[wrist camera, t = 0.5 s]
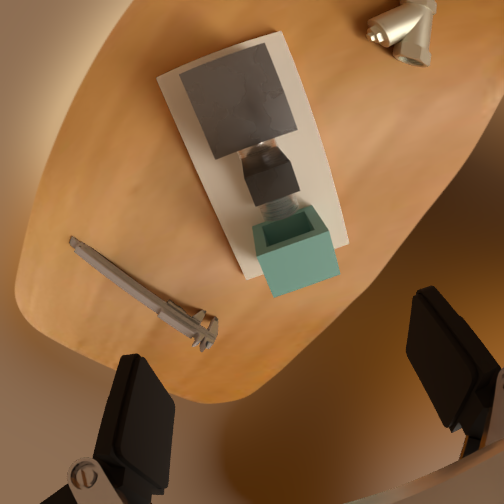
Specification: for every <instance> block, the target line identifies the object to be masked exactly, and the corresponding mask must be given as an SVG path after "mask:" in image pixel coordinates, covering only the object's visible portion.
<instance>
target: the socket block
mask: <svg viewBox="0 0 504 504" xmlns="http://www.w3.org/2000/svg"><path fill="white" fill-rule="evenodd" d="M252 230H253V237H254V244H255V250H256V257H257V259H258V262H259V264H260V266H261V269H262V271H263V273H264V276H265V278H266V280H267V283H268V285H269V288H270V290H271V292H272V295H273V297H277V296H280V295H283V294H286V293H289V292H292V291H295V290H298V289H300V288H303V287H306V286H309V285H312V284H315V283H317V282H320V281H323V280H326V279H328V278H331V277H334V276H337V275H339V274H340V270H339V266H338V263H337V259H336V255H335V251H334V247H333V243H332V240H331V236H330V232H329V230H328V228H327V227H326V225H325V224H324V222H323V221H322V219H321V218H320V216H319V215H318V213H317V212H316V210H315V209H314V207H313V206H312V205H310V206H307V207H305V208H302V209H299V210H298V211H297V212H296V213H294V214H293V215H291V216H289V217H287V218H285V219H282V220H278V221H265V222H263V223H260V224H257V225H254V226H252Z"/></svg>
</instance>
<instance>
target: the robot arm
mask: <svg viewBox="0 0 504 504" xmlns="http://www.w3.org/2000/svg"><path fill="white" fill-rule="evenodd" d="M406 353H407V357H408V359H409V360H410V362H411V364H412V366H413V368H414V370H415V371H416V373H417V375H418V377H419V379H420V381H421V382H422V384H423V386H424V388H425V390H426V392H427V394H428V396H429V398H430V400H431V402H432V403H433V405H434V407H435V409H436V411H437V413H438V415H439V417H440V419H441V421H442V423H443V425H444V426H445V427H446V428H448V427H449V429H450V431H451V433H453V432H455V431H457V430H459V429H461V428H462V429H463V431H464V433H465V435H466V436H465V440H464V443H463V447H462V450H461V453H460V457H459V460H458V461H456V462H454V463H452V464H450V465H448V466H446V467H444V468H442V469H439V470H437V471H435V472H432V473H430V474H428V475H426V476H423V477H421V478H419V479H416V480H414V481H411V482H409V483H406V484H404V485H401V486H398V487H396V488H393V489H390V490H387V491H384V492H381V493H378V494H375V495H372V496H369V497H366V498H362V499H359V500H356V501H352V502H348V503H345V504H504V368H502V369H501V367H500V366H499V365H498V363H497V362H496V361H495V359H494V358H493V356H492V355H491V354H490V353H489V351H488V350H487V348H486V347H485V346H484V344H483V343H482V342H481V340H480V339H479V338H478V337H477V335H476V334H475V333H474V331H473V330H472V329H471V328H470V326H469V325H468V324H467V323H466V321H465V320H464V319H463V318H462V317H461V316H459V315H458V314H457V313H456V311H455V310H454V309H453V308H452V307H451V305H450V304H449V303H448V302H447V301H446V299H445V298H444V297H443V296H442V295H441V294H440V292H439V291H438V290H437V289H436V288H435V287H434V286H429V287H426V288H423V289H420V290H418V291H417V292H416V295H415V296H413V300H412V308H411V317H410V324H409V332H408V338H407V345H406ZM174 415H175V404H174V401H173V400H172V398H171V397H170V395H169V394H168V392H167V391H166V389H165V388H164V386H163V385H162V383H161V382H160V380H159V379H158V377H157V376H156V374H155V373H154V371H153V370H152V368H151V367H150V365H149V364H148V362H147V360H146V359H145V358H144V357H141V356H140V355H139V354H129V355H123V356H121V358H120V361H119V365H118V368H117V371H116V374H115V378H114V381H113V384H112V388H111V391H110V395H109V397H108V400H107V403H106V407H105V411H104V414H103V418H102V422H101V426H100V429H99V433H98V437H97V442H96V445H95V450H94V454H93V458H89V457H84V458H80V459H78V460H76V461H75V462H74V463H73V464H72V465H71V466H70V468H69V470H68V473H67V481H68V484H67V485H65V486H64V487H62V488H61V489H60V490H58V491H57V492H55V493H54V494H53V495H51V496H50V497H48V498H47V499H46V500H44V501H43V502H41V503H40V504H152V503H151V496H152V494H153V495H164V488H167V487H168V482H169V469H170V456H171V444H172V435H173V424H174Z"/></svg>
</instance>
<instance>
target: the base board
mask: <svg viewBox="0 0 504 504" xmlns="http://www.w3.org/2000/svg"><path fill="white" fill-rule="evenodd" d="M262 43H265V45H266V47H267V49H268V52H269V54H270V57H271V59H272V62H273V64H274V67H275V69H276V72H277V74H278V77H279V80H280V82H281V85H282V87H283V90H284V93H285V95H286V98H287V101H288V104H289V106H290V109H291V112H292V115H293V117H294V120H295V123H296V126H297V129H298V130H296V131H293V132H290V133H287V134H284V135H281V136H278V137H275V138H276V141H277V143H278V146H279V149H280V150H281V151H282V152H283V153H284V154H285V156H286V157H287V158H288V159H289V160H290V161H291V164H292V167H293V170H294V173H295V176H296V179H297V182H298V185H299V188H300V191H299V192H296V193H295V195H296V198H297V201H298V204H299V209H302V208H305V207H307V206H310V205H312V206H313V207H314V209H315V210H316V212H317V213H318V215H319V216H320V218H321V219H322V221H323V222H324V224H325V225H326V227H327V228H328V230H329V232H330V236H331V240H332V243H333V247H334V249H336V248H339V247H341V246H344V245H347V244H349V240H348V235H347V231H346V227H345V223H344V219H343V215H342V211H341V207H340V203H339V200H338V196H337V192H336V189H335V185H334V181H333V178H332V174H331V171H330V167H329V164H328V161H327V157H326V154H325V151H324V147H323V144H322V141H321V138H320V135H319V131H318V128H317V125H316V122H315V119H314V116H313V113H312V110H311V107H310V105H309V102H308V99H307V96H306V93H305V90H304V88H303V85H302V82H301V79H300V77H299V74H298V71H297V69H296V66H295V64H294V61H293V58H292V56H291V53H290V51H289V48H288V46H287V43H286V41H285V39H284V36H283V34H282V31H279V32H275V33H272V34H268V35H265V36H261V37H258V38H255V39H252V40H249V41H245V42H242V43H239V44H236V45H234V46H231V47H228V48H225V49H222V50H220V51H217V52H214V53H212V54H209V55H206V56H204V57H201V58H199V59H196V60H194V61H192V62H189V63H187V64H185V65H182V66H180V67H178V68H175V69H173V70H171V71H169V72H167V73H165V74H162V75H160V76H158V77H156V79H157V82H158V84H159V86H160V89H161V91H162V93H163V96H164V98H165V100H166V103H167V105H168V107H169V109H170V112H171V114H172V116H173V119H174V121H175V123H176V125H177V128H178V130H179V132H180V135H181V137H182V139H183V141H184V144H185V146H186V148H187V150H188V153H189V155H190V157H191V159H192V162H193V164H194V166H195V168H196V171H197V173H198V175H199V177H200V180H201V182H202V184H203V186H204V188H205V191H206V193H207V195H208V197H209V199H210V202H211V204H212V206H213V208H214V211H215V213H216V215H217V217H218V219H219V222H220V224H221V226H222V228H223V230H224V232H225V235H226V237H227V239H228V241H229V243H230V246H231V248H232V250H233V252H234V254H235V256H236V259H237V261H238V263H239V265H240V267H241V269H242V272H243V274H244V276H245V278H246V280H248V279H251V278H254V277H257V276H260V275H263V274H264V273H263V271H262V269H261V266H260V264H259V262H258V259H257V257H256V250H255V244H254V237H253V230H252V226H254V225H257V224H260V223H263V222H265V220H264V219H263V217H262V214H261V212H260V209H259V206H257V207H255V204H254V202H253V199H252V197H251V194H250V192H249V189H248V187H247V184H246V182H245V179H244V174H243V167H242V164H241V161H240V159H239V156H238V154H237V152H234V153H232V154H229V155H227V156H224V157H222V158H219V159H217V160H215V158H214V156H213V153H212V151H211V149H210V146H209V144H208V142H207V139H206V137H205V135H204V132H203V130H202V128H201V125H200V123H199V121H198V118H197V116H196V114H195V111H194V109H193V107H192V104H191V102H190V100H189V97H188V95H187V93H186V90H185V88H184V85H183V83H182V81H181V78H180V76H179V74H181V73H183V72H185V71H188V70H190V69H192V68H195V67H197V66H200V65H202V64H205V63H207V62H210V61H212V60H215V59H218V58H220V57H223V56H226V55H228V54H231V53H234V52H237V51H240V50H243V49H246V48H249V47H252V46H255V45H258V44H262ZM299 209H298V210H299Z"/></svg>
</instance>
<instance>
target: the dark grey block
mask: <svg viewBox="0 0 504 504" xmlns="http://www.w3.org/2000/svg"><path fill="white" fill-rule="evenodd" d="M179 76H180V78H181V81H182V83H183V85H184V88H185V90H186V93H187V95H188V97H189V100H190V102H191V104H192V107H193V109H194V111H195V114H196V116H197V118H198V121H199V123H200V125H201V128H202V130H203V132H204V135H205V137H206V139H207V142H208V144H209V146H210V149H211V151H212V153H213V156H214V158H215V160H217V159H219V158H222V157H224V156H227V155H229V154H232V153H234V152H237V151H240V150H242V149H245V148H248V147H250V146H253V145H256V144H259V143H261V142H264V141H267V140H270V139H273V138H275V137H278V136H281V135H284V134H287V133H290V132H293V131H296V130H298V129H297V126H296V123H295V120H294V117H293V115H292V112H291V109H290V106H289V104H288V101H287V98H286V95H285V93H284V90H283V87H282V85H281V82H280V80H279V77H278V74H277V72H276V69H275V67H274V64H273V62H272V59H271V57H270V54H269V52H268V49H267V47H266V45H265V43H262V44H258V45H255V46H252V47H249V48H246V49H243V50H240V51H237V52H234V53H231V54H228V55H226V56H223V57H220V58H218V59H215V60H212V61H210V62H207V63H205V64H202V65H200V66H197V67H195V68H192V69H190V70H188V71H185V72H183V73H181V74H179Z"/></svg>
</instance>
